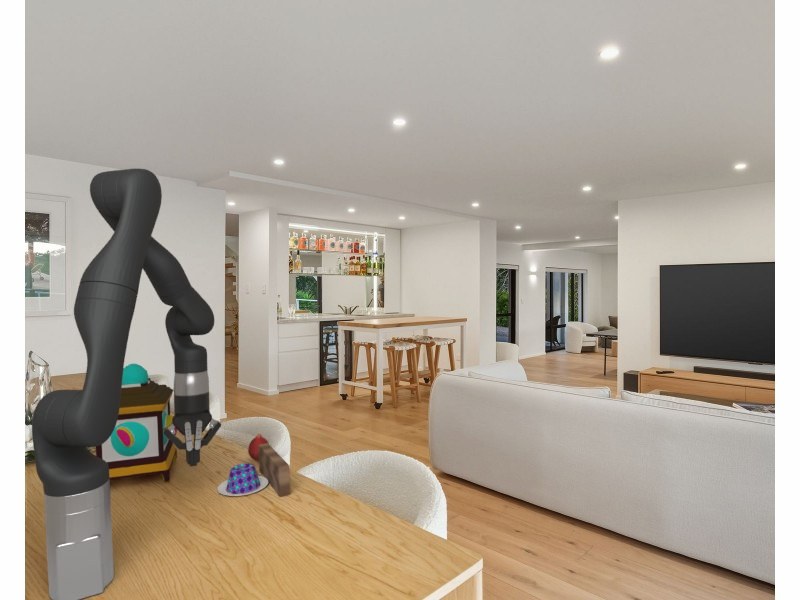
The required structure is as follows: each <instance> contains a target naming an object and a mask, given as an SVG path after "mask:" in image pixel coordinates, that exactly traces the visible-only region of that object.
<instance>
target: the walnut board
mask: <svg viewBox="0 0 800 600" xmlns="http://www.w3.org/2000/svg"><path fill="white" fill-rule="evenodd" d="M268 443H269V442H268ZM268 443H266V444H260V445H258V449H259V462H258V470H259V472H260V473H261V475H262V477H265V478H266V479H267V480H268V485H269V486H271V488H272V489H273V490H274V491H275V493H276V494H277V495H278V497H280V498H282V497H287V496H290V495H291V474H290V473H291V472H290V471H291V470H290V465H289V464H288V463H287V461H286V460H285V459H284V458H283V457H282V456H281V455H280V454H279V453H278V452H277V451H276V450H275V449H274V448H273V447H272V445H270V443H269V444H268Z"/></svg>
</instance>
